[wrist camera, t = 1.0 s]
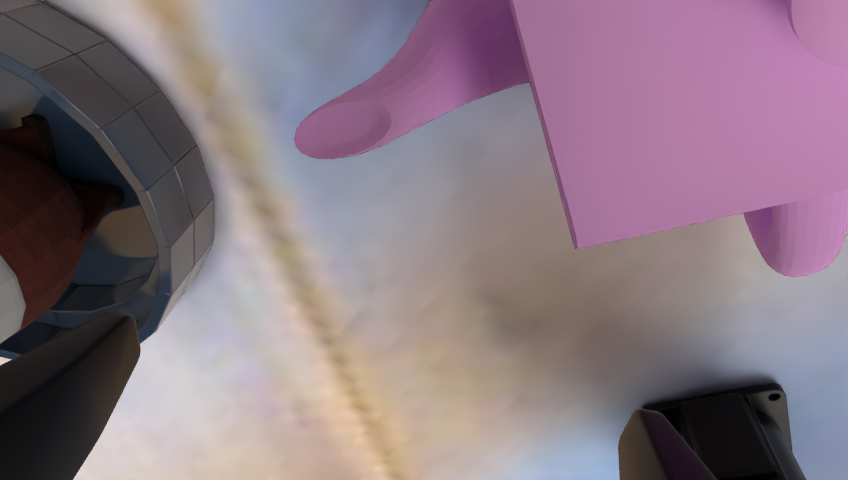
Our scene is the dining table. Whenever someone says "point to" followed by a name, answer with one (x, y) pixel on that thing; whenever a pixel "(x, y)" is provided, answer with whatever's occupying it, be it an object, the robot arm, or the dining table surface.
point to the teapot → (641, 110)
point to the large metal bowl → (108, 170)
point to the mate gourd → (41, 223)
